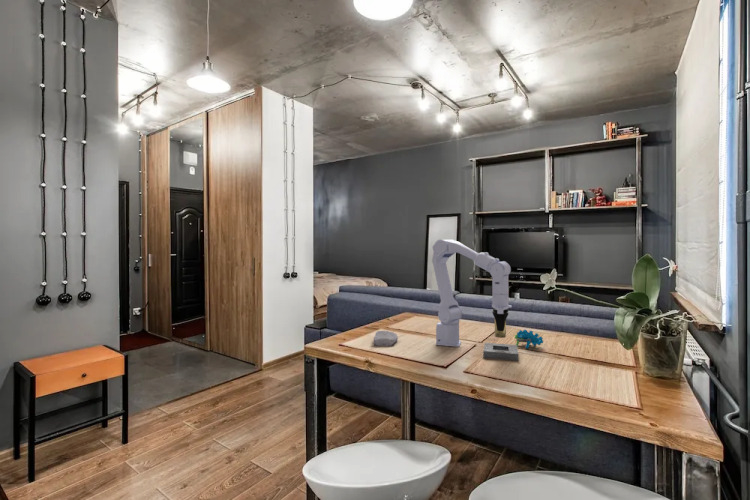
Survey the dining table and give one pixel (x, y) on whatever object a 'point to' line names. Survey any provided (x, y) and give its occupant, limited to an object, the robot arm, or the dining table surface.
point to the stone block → (385, 338)
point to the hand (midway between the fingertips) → (500, 329)
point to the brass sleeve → (500, 332)
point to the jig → (500, 351)
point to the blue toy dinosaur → (528, 338)
